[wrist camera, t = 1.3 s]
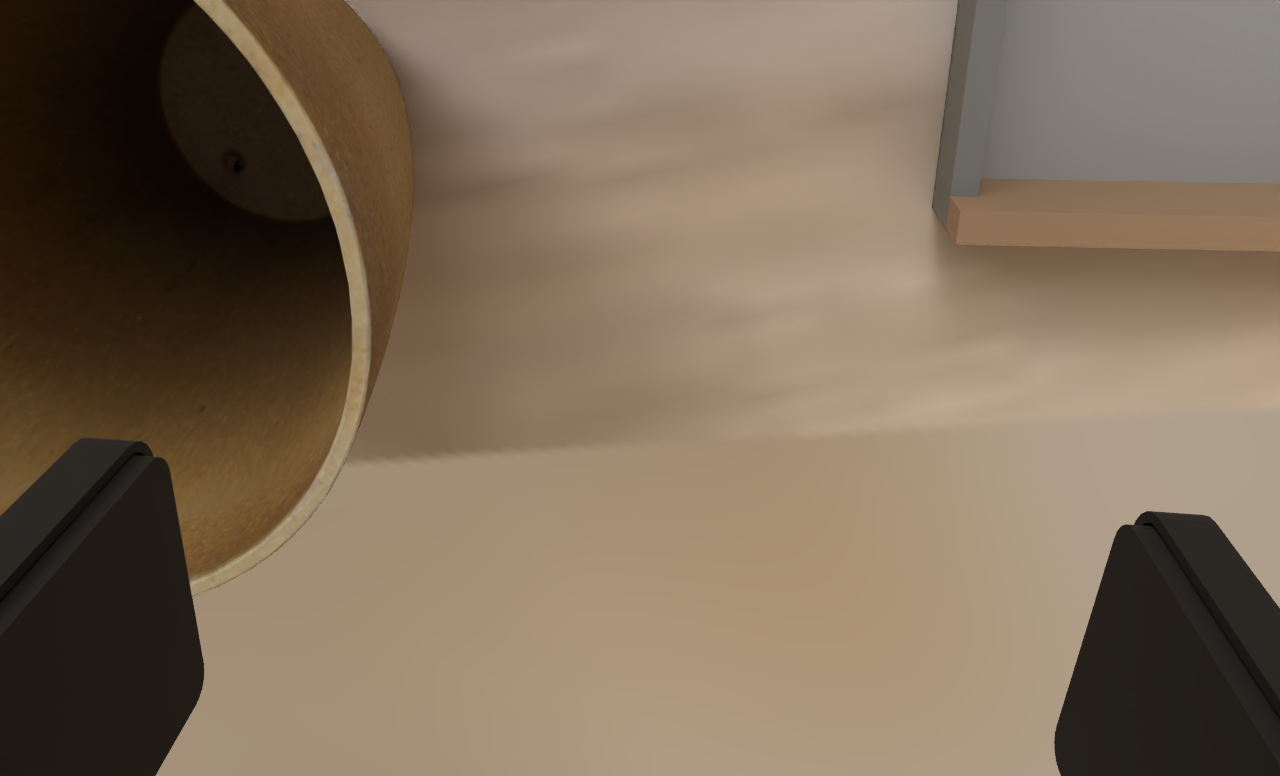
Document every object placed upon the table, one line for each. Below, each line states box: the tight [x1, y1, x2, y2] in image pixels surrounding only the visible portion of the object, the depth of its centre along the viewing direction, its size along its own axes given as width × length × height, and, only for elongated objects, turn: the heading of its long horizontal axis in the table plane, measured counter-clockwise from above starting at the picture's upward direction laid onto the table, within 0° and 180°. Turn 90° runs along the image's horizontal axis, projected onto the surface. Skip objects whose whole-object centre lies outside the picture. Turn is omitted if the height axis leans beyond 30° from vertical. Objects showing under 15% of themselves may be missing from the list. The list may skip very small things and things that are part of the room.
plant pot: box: [0, 0, 413, 596], centre depth 27 cm, size 15×15×16 cm
